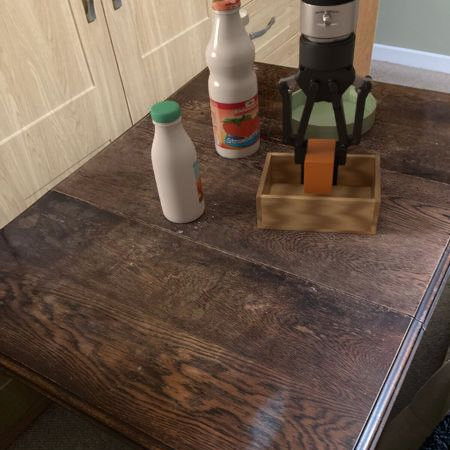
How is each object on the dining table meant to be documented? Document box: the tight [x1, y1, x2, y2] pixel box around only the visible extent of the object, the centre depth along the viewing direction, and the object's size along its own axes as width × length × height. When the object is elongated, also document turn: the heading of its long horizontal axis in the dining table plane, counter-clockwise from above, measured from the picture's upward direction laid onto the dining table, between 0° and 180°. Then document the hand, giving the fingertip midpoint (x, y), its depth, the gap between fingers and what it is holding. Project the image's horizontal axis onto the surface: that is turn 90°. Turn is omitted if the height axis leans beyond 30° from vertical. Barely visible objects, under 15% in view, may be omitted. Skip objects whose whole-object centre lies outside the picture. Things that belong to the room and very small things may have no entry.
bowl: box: [292, 84, 377, 141], centre depth 106 cm, size 19×19×4 cm
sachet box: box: [304, 139, 336, 194], centre depth 82 cm, size 4×7×6 cm, turn 169°
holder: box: [255, 151, 382, 236], centre depth 85 cm, size 20×14×7 cm
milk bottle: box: [150, 100, 206, 224], centre depth 83 cm, size 8×8×20 cm
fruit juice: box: [204, 0, 261, 159], centre depth 93 cm, size 9×9×28 cm
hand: (319, 179), depth 83 cm, fingers closed on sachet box, 4 cm apart
